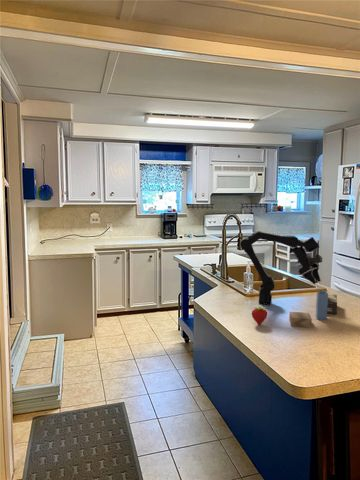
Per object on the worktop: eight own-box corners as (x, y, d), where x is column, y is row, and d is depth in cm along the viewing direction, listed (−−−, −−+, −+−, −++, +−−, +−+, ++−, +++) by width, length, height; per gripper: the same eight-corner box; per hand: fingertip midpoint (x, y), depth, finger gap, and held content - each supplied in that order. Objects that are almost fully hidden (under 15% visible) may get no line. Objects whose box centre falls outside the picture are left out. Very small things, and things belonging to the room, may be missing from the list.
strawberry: (249, 323, 174) (249, 302, 173) (263, 321, 176) (264, 301, 174) (254, 327, 168) (254, 306, 167) (269, 326, 170) (270, 305, 169)
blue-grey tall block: (316, 319, 180) (318, 291, 178) (315, 316, 184) (317, 289, 182) (326, 319, 179) (328, 292, 177) (324, 316, 183) (326, 289, 181)
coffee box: (318, 303, 205) (317, 312, 190) (319, 292, 204) (318, 300, 189) (336, 305, 201) (336, 314, 186) (337, 294, 200) (337, 302, 186)
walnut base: (290, 325, 170) (291, 317, 170) (289, 319, 179) (289, 311, 179) (311, 327, 169) (311, 319, 168) (308, 320, 177) (309, 312, 177)
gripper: (310, 250, 186) (326, 277, 182) (319, 248, 201) (335, 273, 197) (291, 261, 191) (307, 287, 187) (302, 258, 207) (317, 282, 202)
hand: (317, 282), depth 193 cm, fingers open, 9 cm apart
